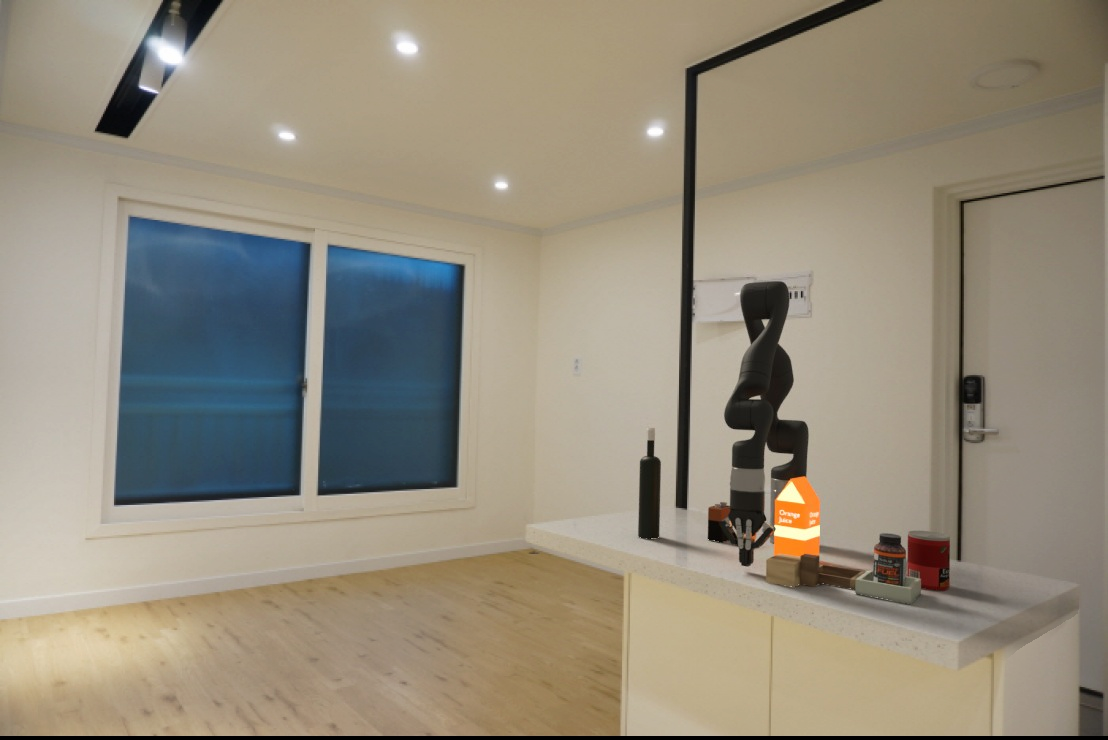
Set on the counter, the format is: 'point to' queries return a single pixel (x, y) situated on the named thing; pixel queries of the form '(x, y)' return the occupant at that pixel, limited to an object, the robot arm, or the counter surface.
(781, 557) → the natural wood cube
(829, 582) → the frame
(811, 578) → the post
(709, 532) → the battery
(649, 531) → the wine bottle
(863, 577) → the tray
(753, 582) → the counter surface
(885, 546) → the supplement bottle
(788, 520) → the orange juice
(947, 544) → the canned food
